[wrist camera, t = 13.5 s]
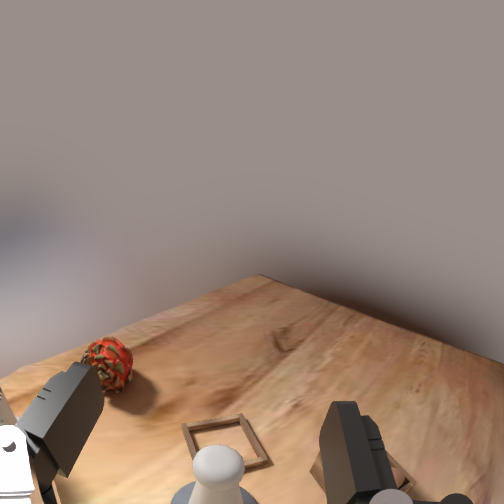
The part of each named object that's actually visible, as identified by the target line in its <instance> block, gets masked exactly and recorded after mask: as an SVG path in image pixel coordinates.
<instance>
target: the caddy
mask: <svg viewBox="0 0 504 504" xmlns="http://www.w3.org/2000/svg"><path fill="white" fill-rule="evenodd" d="M386 453H387V456H388V459H389V462H390V465H391V469H392V472H393V475H394V478H395V482H396V485H397V487H398V489H399V490H400V491H402V492H404V493H407V492H408V491H409V490H410V489H411V488H412V487H413V486H414V485H415V484H416V483H417V482H416V481H415V480H414V479H413V478H412V477H411V476H410V475H409V474H408V473H407V472H406V471H405V470H404V469H403V468H402V467H401V466H400V465H399V464H398V463H397V462H396V461H395V460H394V458H393V457H392V456H391V455H390V454H389V453H388V452H387V451H386ZM310 473H311V474H312V475H313V477H314V478H315V480H316V481H317V482H318V484H319V485H320V487H321V488H322V489H323V491H324V492H325V493H326V489H325V481H324V474H323V466H322V459H321V452H319V454H318V456H317V458H316V460H315V462H314V464H313V466H312V468H311V470H310Z"/></svg>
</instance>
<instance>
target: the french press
mask: <svg viewBox="0 0 504 504" xmlns="http://www.w3.org/2000/svg"><path fill="white" fill-rule="evenodd" d="M0 392H1V393H2V395H1V394H0V396H1V397H2V398H0V427H3V426H12V427H13V426H14V425H15V424H16V423H17V421H18V420H19V419H20V418H19V417H18V416H16V415H14V413H13V411H12V410H11V408H10V406H9V404H8V402H7V400H6V398H5V396H4V394H3V392H2V389H1V387H0Z"/></svg>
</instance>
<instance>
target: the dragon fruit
mask: <svg viewBox="0 0 504 504" xmlns="http://www.w3.org/2000/svg"><path fill="white" fill-rule="evenodd" d="M85 353H89V354H87V355H86V356H85V357H84V355H83V356H82V358H81V363H83V364H87V365H90V366H94V367H96V369H97V372H98V376H99V380H100V384H101V388H102V391H103V390H108V389H113V390H114V391H115V393H119V392H122V390H123V388H124V385H125V384H124V382H128V383H129V382H132V380H133V371H132V365H133V358H132V353H131V351H130V350H129V349H128V348H126V347H125V346H124V345H123V344H122V343H121V342H120V341H119V340H118V339H116V338H114V337H111V338H110V337H104V338H103V340H97V341H96V342H92V343H91V344H90V345H89V346H88V350H87V351H85Z"/></svg>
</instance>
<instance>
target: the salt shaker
mask: <svg viewBox="0 0 504 504" xmlns="http://www.w3.org/2000/svg"><path fill="white" fill-rule="evenodd" d="M192 464H193V473H194V476H195V478H196V479H197V481H196V483H195V486H194V489H193V492H192V494H191V497H190V500H189V504H243V499H242V495H241V492H240V488H239V484H238V483H239V482H241V479H242V477H243V474H244V471H245V467H244V462H243V457H242V456H241V455H240V454H239V453H238V452H237V451H236V450H234V449H232V448H230V447H228V446H224V445H211V446H206V447H204V448H203V449H201V450H200V451H198V452H197V454H196V456H195V458H194V460H193V463H192Z"/></svg>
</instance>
